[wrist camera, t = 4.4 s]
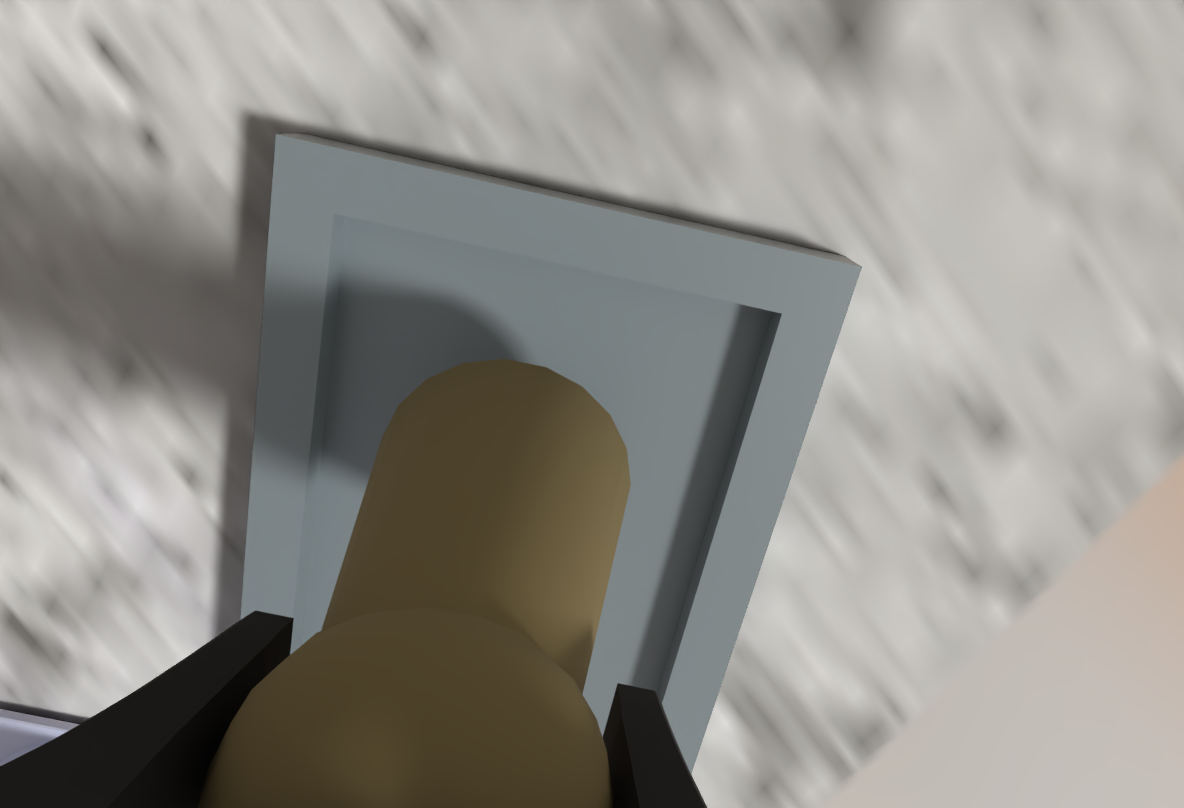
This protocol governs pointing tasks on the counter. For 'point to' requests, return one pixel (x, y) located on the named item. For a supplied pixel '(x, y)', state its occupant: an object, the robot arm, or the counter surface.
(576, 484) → the pepper shaker
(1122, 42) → the counter surface
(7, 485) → the counter surface
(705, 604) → the tray
